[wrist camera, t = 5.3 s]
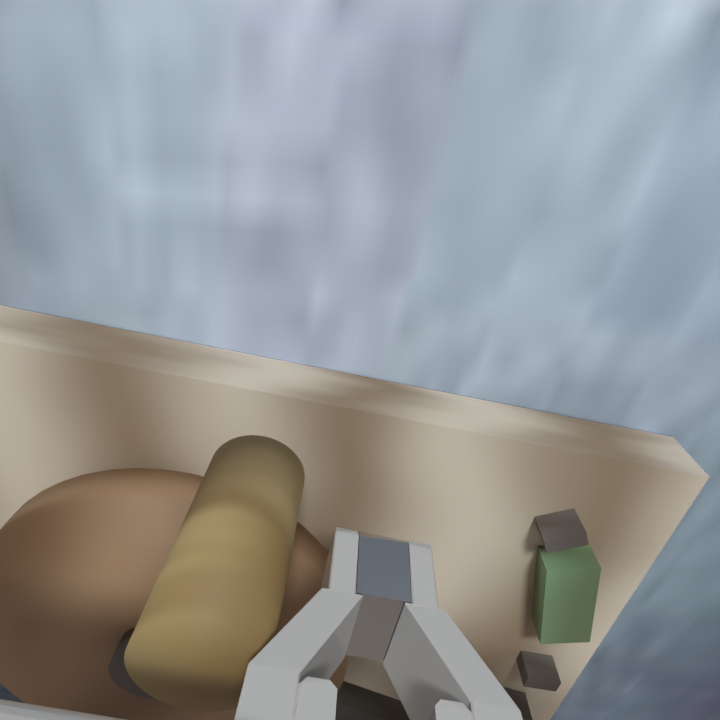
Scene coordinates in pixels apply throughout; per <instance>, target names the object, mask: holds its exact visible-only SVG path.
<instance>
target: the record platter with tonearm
mask: <svg viewBox="0 0 720 720" xmlns="http://www.w3.org/2000/svg"><path fill="white" fill-rule="evenodd" d="M304 480H305V473H304V468H303V465H302V463H301V461H300V459H299V458H298V456H297V455H296V454H295V453H294V452H293V451H292V450H291V449H290V448H289V447H288V446H286V445H285V444H283V443H281V442H279V441H277V440H275V439H272V438H269V437H265V436H259V435H246V436H240V437H237V438H233V439H231V440H229V441H227V442H226V443H224V444H223V445H221V446H220V447H219V448H218V449H217V451H216V452H215V454H214V455H213V457H212V459H211V462H210V464H209V466H208V468H207V470H206V473H205V475H204V477H203V476H199V475H195V474H191V473H186V472H179V471H172V470H165V469H147V468H128V469H113V470H105V471H99V472H94V473H88V474H84V475H80V476H77V477H74V478H71V479H68V480H65V481H62V482H60V483H58V484H55V485H53V486H51V487H49V488H47V489H45V490H43V491H41V492H40V493H38V494H37V495H36V496H34V497H33V498H31V499H30V500H28V501H27V502H26V503H25V504H24V505H22V506H21V507H20V508H19V509H18V510H17V511H16V512H15V513H14V514H13V515H12V517H11V518H10V519H9V520H8V521H7V522H6V523H5V525H4V526H3V527H2V528H1V529H0V683H1V684H2V685H3V686H4V687H5V688H7V689H8V690H9V691H10V692H11V693H12V694H13V695H15V696H16V697H17V698H19V699H20V700H22V701H23V702H24V703H28V704H34V705H40V706H46V707H52V708H58V709H65V710H71V711H77V712H83V713H89V714H95V715H101V716H107V717H114V718H120V719H126V720H234V719H235V715H236V711H237V707H238V703H239V699H240V695H241V691H242V687H243V683H244V679H245V675H246V671H247V667H248V664H249V663H250V661H251V660H252V659H253V658H254V657H255V656H256V655H257V654H258V653H259V652H260V651H261V650H262V649H263V648H264V647H265V646H266V645H267V644H268V643H269V642H270V641H271V640H272V639H273V638H274V637H275V636H276V635H277V634H278V633H279V632H280V631H281V630H282V628H283V627H284V626H285V625H286V624H287V623H288V622H289V621H290V620H291V619H292V618H293V617H294V616H295V615H296V614H297V613H298V612H299V611H300V610H301V609H302V608H303V607H304V606H305V605H306V604H307V603H308V602H309V601H310V600H311V599H312V598H313V596H314V595H315V594H316V593H317V592H318V591H319V590H320V589H321V585H322V580H323V575H324V570H325V566H326V561H327V557H328V552H327V551H326V550H325V548H324V547H323V546H322V544H321V543H320V542H319V541H318V540H317V539H316V538H315V537H314V536H313V535H312V534H311V533H310V532H309V531H308V530H307V529H306V528H305V527H304V526H303V525H301V524H300V523H299V522H297V520H298V514H299V509H300V503H301V498H302V492H303V487H304ZM347 663H348V655H345V658H344V659H343V660H342V662H341V663H340V665H339V666H338V668H337V669H336V670H335V672H334V673H333V675H332V676H331V677H330V679H329V680H330V681H331V682H332V683H333V684H334V685H335V687H336V688H337V701H336V716H335V720H410V719H409V717H408V715H407V713H406V711H405V708H404V706H403V704H402V702H401V701H400V700H397V699H394V698H392V697H389V696H386V695H383V694H380V693H377V692H374V691H371V690H369V689H366V688H363V687H360V686H357V685H354V684H351V683H348V682H346V681H344V677H345V673H346V669H347Z"/></svg>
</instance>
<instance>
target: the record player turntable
mask: <svg viewBox="0 0 720 720" xmlns="http://www.w3.org/2000/svg"><path fill="white" fill-rule="evenodd" d="M246 435H259V436H265V437H269V438H272V439H275V440H277V441H279V442H281V443H283V444H285V445H286V446H288V447H289V448H290V449H291V450H292V451H293V452H294V453H295V454H296V455H297V456H298V458H299V459H300V461H301V463H302V465H303V468H304V473H305V480H304V487H303V492H302V498H301V503H300V509H299V514H298V520H297V522H299V523H300V524H301V525H303V526H304V527H305V528H306V529H307V530H308V531H309V532H310V533H311V534H312V535H313V536H314V537H315V538H316V539H317V540H318V541H319V542H320V543H321V544H322V546H323V547H324V548H325V550H326V551H327V552H328V553H329V549H330V545H331V541H332V537H333V533H334V530H335V528H336V527H339V528H344V529H349V530H353V531H358V532H359V531H361V532H365V533H370V534H375V535H379V536H384V537H390V538H396V539H401V540H406V541H413V542H419V543H425V544H429V545H430V546H431V548H432V556H433V565H434V573H435V582H436V591H437V600H438V608H439V609H442V610H446V612H447V613H448V614H449V616H450V617H451V618H452V620H453V621H454V622H455V624H456V625H457V626H458V628H459V629H460V630H461V632H462V633H463V634H464V636H465V637H466V639H467V640H468V641H469V643H470V644H471V645H472V647H473V648H474V649H475V651H476V652H477V653H478V655H479V656H480V657H481V659H482V660H483V661H484V663H485V664H486V665H487V667H488V668H489V669H490V671H491V672H492V673H493V675H494V676H495V677H496V679H497V680H498V681H499V683H500V684H501V685H502V687H503V688H504V689H505V691H506V692H507V693H508V695H509V696H510V697H511V699H512V700H513V701H514V703H515V704H516V706H517V707H518V708H519V710H520V711H521V714H522V719H523V720H550V719H551V718H552V716H553V715H554V713H555V712H556V710H557V708H558V707H559V705H560V704H561V702H562V701H563V699H564V698H565V696H566V695H567V693H568V692H569V690H570V689H571V687H572V686H573V684H574V683H575V681H576V680H577V678H578V677H579V675H580V673H581V672H582V670H583V669H584V667H585V666H586V664H587V663H588V661H589V660H590V658H591V657H592V655H593V654H594V652H595V651H596V649H597V648H598V646H599V645H600V643H601V641H602V640H603V638H604V637H605V635H606V634H607V632H608V631H609V629H610V628H611V626H612V625H613V623H614V622H615V620H616V619H617V617H618V616H619V614H620V613H621V611H622V609H623V608H624V606H625V605H626V603H627V602H628V600H629V599H630V597H631V596H632V594H633V593H634V591H635V590H636V588H637V587H638V585H639V584H640V582H641V581H642V579H643V577H644V576H645V574H646V573H647V571H648V570H649V568H650V567H651V565H652V564H653V562H654V561H655V559H656V558H657V556H658V555H659V553H660V552H661V550H662V549H663V547H664V545H665V544H666V542H667V541H668V539H669V538H670V536H671V535H672V533H673V532H674V530H675V529H676V527H677V526H678V524H679V523H680V521H681V520H682V518H683V517H684V515H685V513H686V512H687V510H688V509H689V507H690V506H691V504H692V503H693V501H694V500H695V498H696V497H697V495H698V494H699V492H700V491H701V489H702V488H703V486H704V485H705V483H706V481H707V480H708V478H709V476H708V475H707V474H706V473H705V472H704V471H703V469H702V468H701V467H700V466H699V465H698V464H697V463H696V462H695V461H694V460H693V458H692V457H691V456H690V455H689V454H688V453H687V452H686V451H685V450H684V448H683V447H682V446H681V445H680V444H679V443H678V442H677V441H676V440H675V439H674V437H670V436H665V435H659V434H654V433H649V432H644V431H639V430H634V429H629V428H624V427H619V426H613V425H608V424H603V423H598V422H593V421H588V420H583V419H578V418H573V417H568V416H562V415H557V414H552V413H547V412H542V411H537V410H532V409H527V408H522V407H516V406H511V405H506V404H501V403H496V402H491V401H486V400H481V399H476V398H471V397H465V396H460V395H455V394H450V393H445V392H440V391H435V390H430V389H425V388H419V387H414V386H409V385H404V384H399V383H394V382H389V381H384V380H379V379H374V378H368V377H363V376H358V375H353V374H348V373H343V372H338V371H333V370H328V369H322V368H317V367H312V366H307V365H302V364H297V363H292V362H287V361H282V360H277V359H271V358H266V357H261V356H256V355H251V354H246V353H241V352H236V351H231V350H225V349H220V348H215V347H210V346H205V345H200V344H195V343H190V342H185V341H180V340H174V339H169V338H164V337H159V336H154V335H149V334H144V333H139V332H134V331H128V330H123V329H118V328H113V327H108V326H103V325H98V324H93V323H88V322H82V321H77V320H72V319H67V318H62V317H57V316H52V315H47V314H42V313H37V312H31V311H26V310H21V309H16V308H11V307H6V306H1V305H0V529H1V528H2V527H3V526H4V525H5V523H6V522H7V521H8V520H9V519H10V518H11V517H12V515H13V514H14V513H15V512H16V511H17V510H18V509H19V508H20V507H21V506H22V505H24V504H25V503H26V502H27V501H28V500H30V499H31V498H33V497H34V496H36V495H37V494H38V493H40V492H41V491H43V490H45V489H47V488H49V487H51V486H53V485H55V484H58V483H60V482H62V481H65V480H68V479H71V478H74V477H77V476H80V475H84V474H88V473H94V472H99V471H105V470H113V469H128V468H147V469H165V470H172V471H179V472H186V473H191V474H195V475H199V476H203V477H204V475H205V473H206V470H207V468H208V466H209V464H210V462H211V459H212V457H213V455H214V454H215V452H216V451H217V449H218V448H219V447H220V446H221V445H223V444H224V443H226V442H227V441H229V440H231V439H233V438H237V437H240V436H246ZM344 681H346V682H348V683H351V684H354V685H357V686H360V687H363V688H366V689H369V690H371V691H374V692H377V693H380V694H383V695H386V696H389V697H392V698H394V699H397V700H400V698H399V696H398V694H397V692H396V690H395V688H394V686H393V684H392V681H391V679H390V677H389V675H388V673H387V671H386V669H385V667H384V665H383V661H378V660H373V659H368V658H363V657H356V656H349V655H348V663H347V669H346V673H345V677H344ZM400 701H401V700H400Z"/></svg>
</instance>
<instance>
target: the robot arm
mask: <svg viewBox="0 0 720 720" xmlns="http://www.w3.org/2000/svg"><path fill="white" fill-rule="evenodd" d="M345 655H349V656H356V657H363V658H368V659H373V660H378V661H383V665H384V667H385V669H386V671H387V673H388V675H389V677H390V679H391V681H392V684H393V686H394V688H395V690H396V692H397V694H398V696H399V698H400V700H401V702H402V704H403V706H404V708H405V711H406V713H407V715H408V717H409V719H410V720H523V719H522V714H521V711H520V710H519V708H518V707H517V706H516V704H515V703H514V701H513V700H512V699H511V697H510V696H509V695H508V693H507V692H506V691H505V689H504V688H503V687H502V685H501V684H500V683H499V681H498V680H497V679H496V677H495V676H494V675H493V673H492V672H491V671H490V669H489V668H488V667H487V665H486V664H485V663H484V661H483V660H482V659H481V657H480V656H479V655H478V653H477V652H476V651H475V649H474V648H473V647H472V645H471V644H470V643H469V641H468V640H467V639H466V637H465V636H464V634H463V633H462V632H461V630H460V629H459V628H458V626H457V625H456V624H455V622H454V621H453V620H452V618H451V617H450V616H449V614H448V613H447V612H446V610H442V609H439V608H438V600H437V591H436V582H435V573H434V565H433V556H432V548H431V546H430V545H429V544H425V543H419V542H413V541H406V540H401V539H396V538H390V537H384V536H379V535H375V534H370V533H365V532H361V531H359V532H358V531H353V530H349V529H344V528H339V527H336V528H335V530H334V533H333V537H332V541H331V545H330V549H329V553H328V557H327V561H326V566H325V570H324V575H323V580H322V585H321V589H320V590H319V591H318V592H317V593H316V594H315V595H314V596H313V598H312V599H311V600H310V601H309V602H308V603H307V604H306V605H305V606H304V607H303V608H302V609H301V610H300V611H299V612H298V613H297V614H296V615H295V616H294V617H293V618H292V619H291V620H290V621H289V622H288V623H287V624H286V625H285V626H284V627H283V628H282V630H281V631H280V632H279V633H278V634H277V635H276V636H275V637H274V638H273V639H272V640H271V641H270V642H269V643H268V644H267V645H266V646H265V647H264V648H263V649H262V650H261V651H260V652H259V653H258V654H257V655H256V656H255V657H254V658H253V659H252V660H251V661H250V663H249V664H248V667H247V671H246V675H245V679H244V683H243V687H242V691H241V695H240V699H239V703H238V707H237V711H236V715H235V719H234V720H335V716H336V701H337V688H336V687H335V685H334V684H333V683H332V682H331V681H330V680H329V679H330V677H331V676H332V675H333V673H334V672H335V670H336V669H337V668H338V666H339V665H340V663H341V662H342V660H343V659H344V658H345ZM0 720H126V719H120V718H114V717H107V716H101V715H95V714H89V713H83V712H77V711H71V710H65V709H58V708H52V707H46V706H40V705H34V704H28V703H22V702H16V701H10V700H3V699H0Z"/></svg>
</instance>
